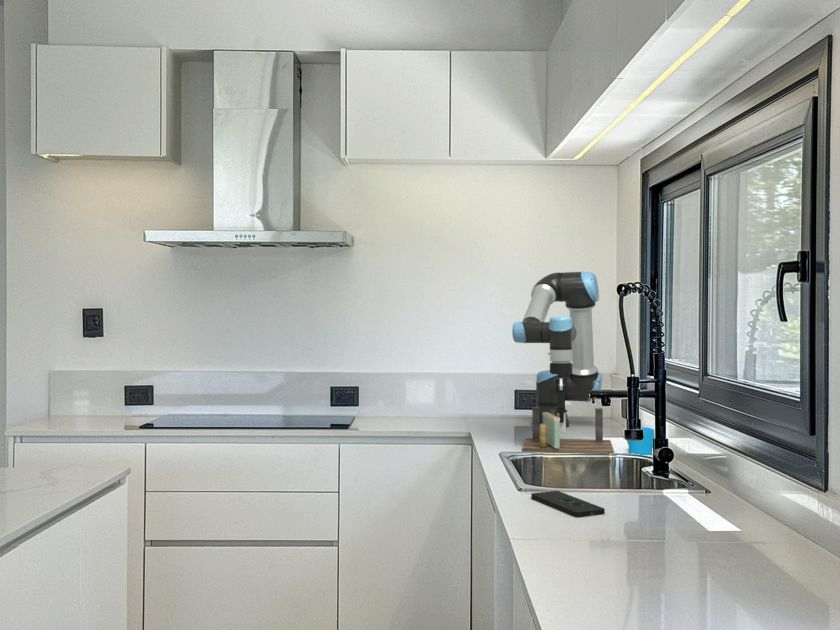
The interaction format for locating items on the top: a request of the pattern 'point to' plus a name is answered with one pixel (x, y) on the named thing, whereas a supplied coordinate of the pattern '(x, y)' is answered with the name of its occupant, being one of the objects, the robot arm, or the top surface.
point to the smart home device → (567, 504)
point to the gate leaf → (552, 429)
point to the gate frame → (567, 445)
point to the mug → (643, 443)
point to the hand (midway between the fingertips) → (561, 431)
